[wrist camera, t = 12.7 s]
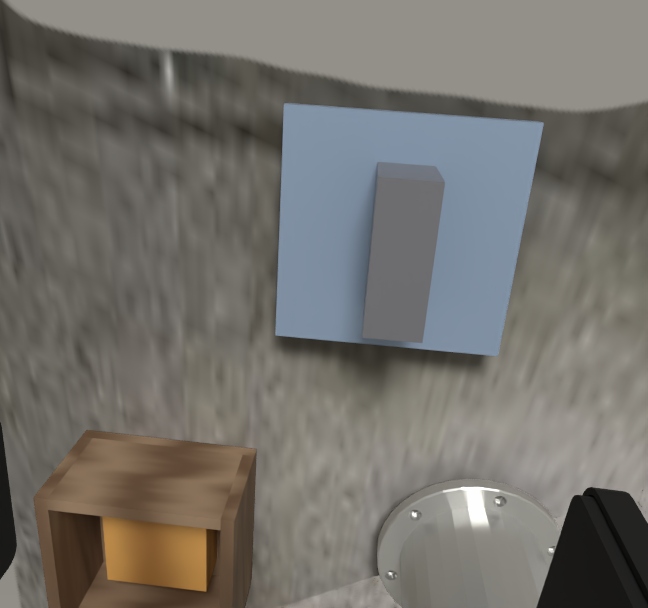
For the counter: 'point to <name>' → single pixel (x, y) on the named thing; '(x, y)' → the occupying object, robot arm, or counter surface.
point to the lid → (401, 226)
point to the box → (148, 524)
